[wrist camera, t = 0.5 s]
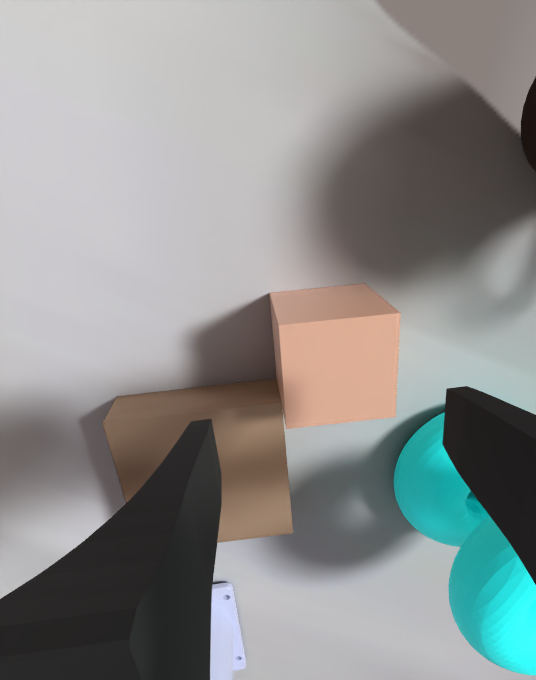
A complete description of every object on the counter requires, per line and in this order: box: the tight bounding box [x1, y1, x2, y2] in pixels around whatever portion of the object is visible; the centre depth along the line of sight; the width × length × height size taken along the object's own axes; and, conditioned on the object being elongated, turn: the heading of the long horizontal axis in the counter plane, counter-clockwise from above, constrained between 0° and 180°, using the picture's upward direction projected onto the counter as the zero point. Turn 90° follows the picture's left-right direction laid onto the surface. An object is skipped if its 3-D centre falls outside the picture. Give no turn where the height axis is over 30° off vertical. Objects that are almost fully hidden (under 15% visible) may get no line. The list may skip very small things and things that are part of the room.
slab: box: [103, 379, 293, 543], centre depth 23 cm, size 9×9×3 cm
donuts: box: [394, 412, 536, 675], centre depth 21 cm, size 10×10×10 cm
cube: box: [270, 283, 401, 429], centre depth 19 cm, size 5×5×5 cm
